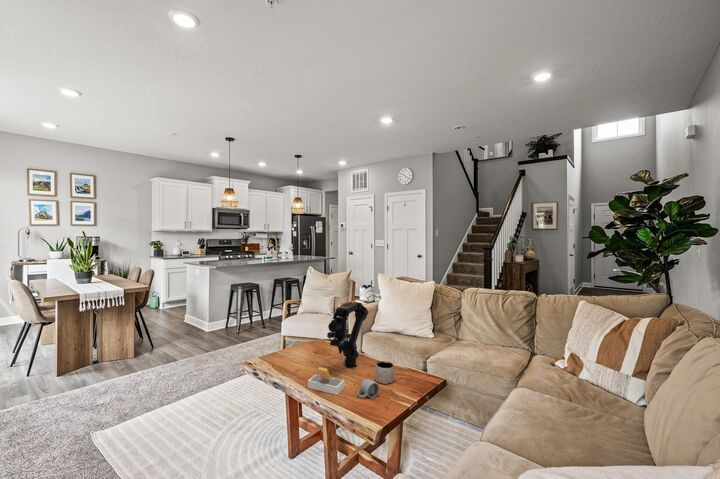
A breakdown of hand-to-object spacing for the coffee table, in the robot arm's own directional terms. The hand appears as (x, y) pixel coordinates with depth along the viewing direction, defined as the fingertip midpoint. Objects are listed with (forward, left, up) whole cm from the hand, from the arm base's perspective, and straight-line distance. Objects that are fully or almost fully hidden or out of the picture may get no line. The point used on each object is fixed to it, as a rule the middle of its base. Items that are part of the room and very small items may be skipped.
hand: (340, 353), depth 204 cm
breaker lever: (+13, +17, -8) cm, 23 cm away
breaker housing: (+13, +17, -12) cm, 25 cm away
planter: (-22, +18, -12) cm, 31 cm away
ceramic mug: (-6, +31, -12) cm, 34 cm away
